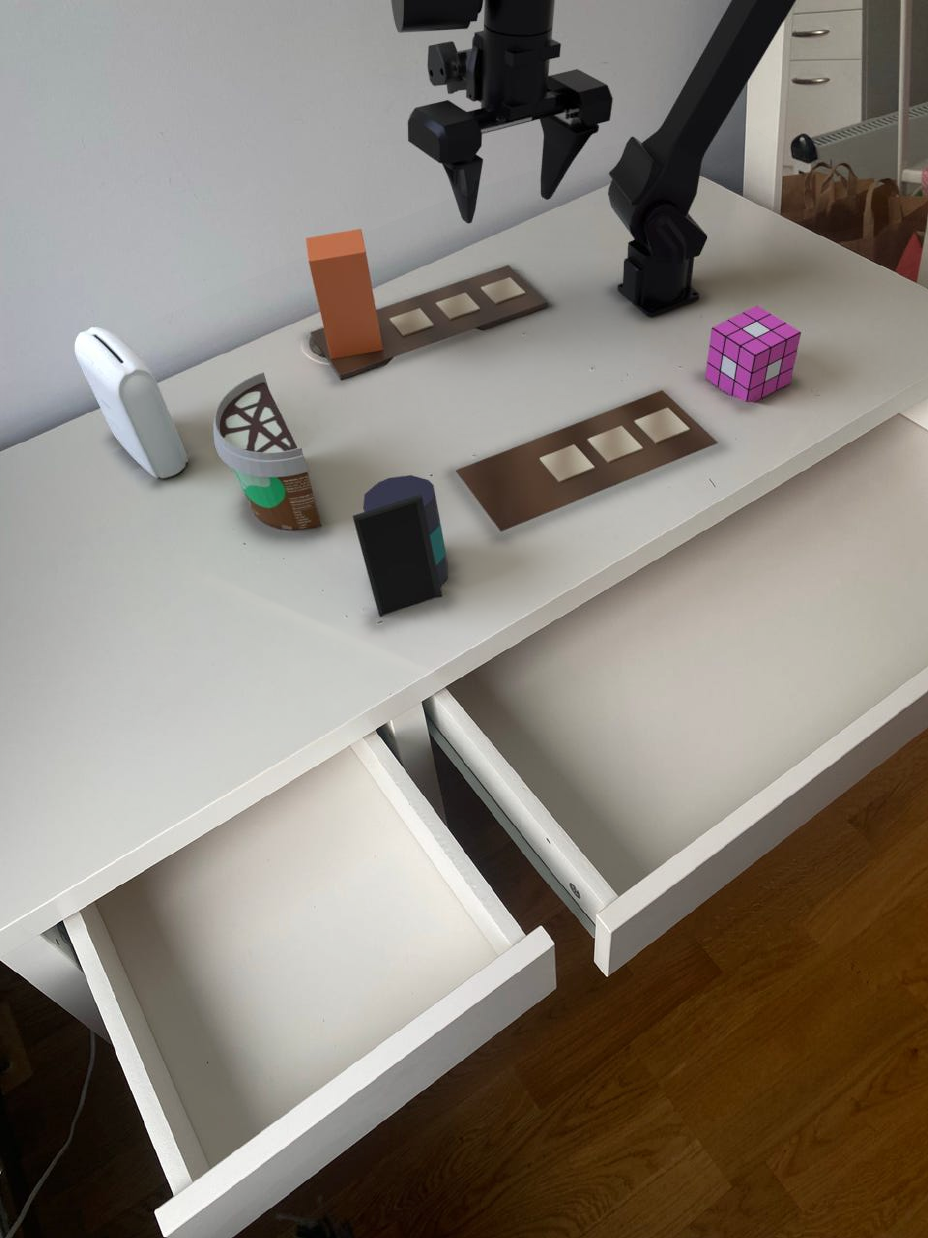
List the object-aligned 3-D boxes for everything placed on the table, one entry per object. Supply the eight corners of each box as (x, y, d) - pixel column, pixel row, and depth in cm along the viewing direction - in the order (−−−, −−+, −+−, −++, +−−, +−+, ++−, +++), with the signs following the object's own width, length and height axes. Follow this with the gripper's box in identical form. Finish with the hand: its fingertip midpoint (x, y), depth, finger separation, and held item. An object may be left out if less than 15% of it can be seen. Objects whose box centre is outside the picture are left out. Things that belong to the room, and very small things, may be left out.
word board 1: (508, 269, 107) (508, 262, 106) (547, 307, 101) (547, 300, 101) (311, 336, 101) (309, 330, 101) (340, 380, 96) (339, 373, 95)
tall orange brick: (378, 326, 101) (361, 228, 92) (383, 350, 98) (365, 251, 89) (327, 334, 100) (305, 237, 92) (330, 359, 97) (308, 261, 89)
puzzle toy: (745, 407, 88) (755, 355, 84) (704, 378, 91) (711, 326, 87) (790, 383, 90) (802, 331, 85) (748, 355, 93) (757, 304, 89)
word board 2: (661, 394, 90) (662, 387, 90) (717, 447, 85) (718, 440, 84) (455, 474, 86) (455, 468, 85) (500, 536, 80) (500, 529, 80)
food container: (225, 478, 88) (192, 390, 80) (287, 457, 89) (261, 368, 81) (259, 564, 80) (227, 476, 73) (327, 540, 82) (303, 451, 74)
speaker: (450, 616, 75) (429, 514, 67) (379, 623, 75) (351, 522, 68) (453, 553, 80) (434, 453, 73) (386, 560, 81) (360, 460, 73)
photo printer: (109, 436, 93) (57, 328, 84) (147, 416, 95) (100, 308, 85) (156, 487, 88) (106, 377, 78) (196, 465, 89) (152, 355, 80)
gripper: (549, -21, 86) (534, 155, 98) (371, 13, 79) (379, 198, 90) (628, 16, 80) (603, 198, 92) (443, 56, 73) (442, 248, 85)
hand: (506, 209), depth 90 cm, fingers open, 9 cm apart
